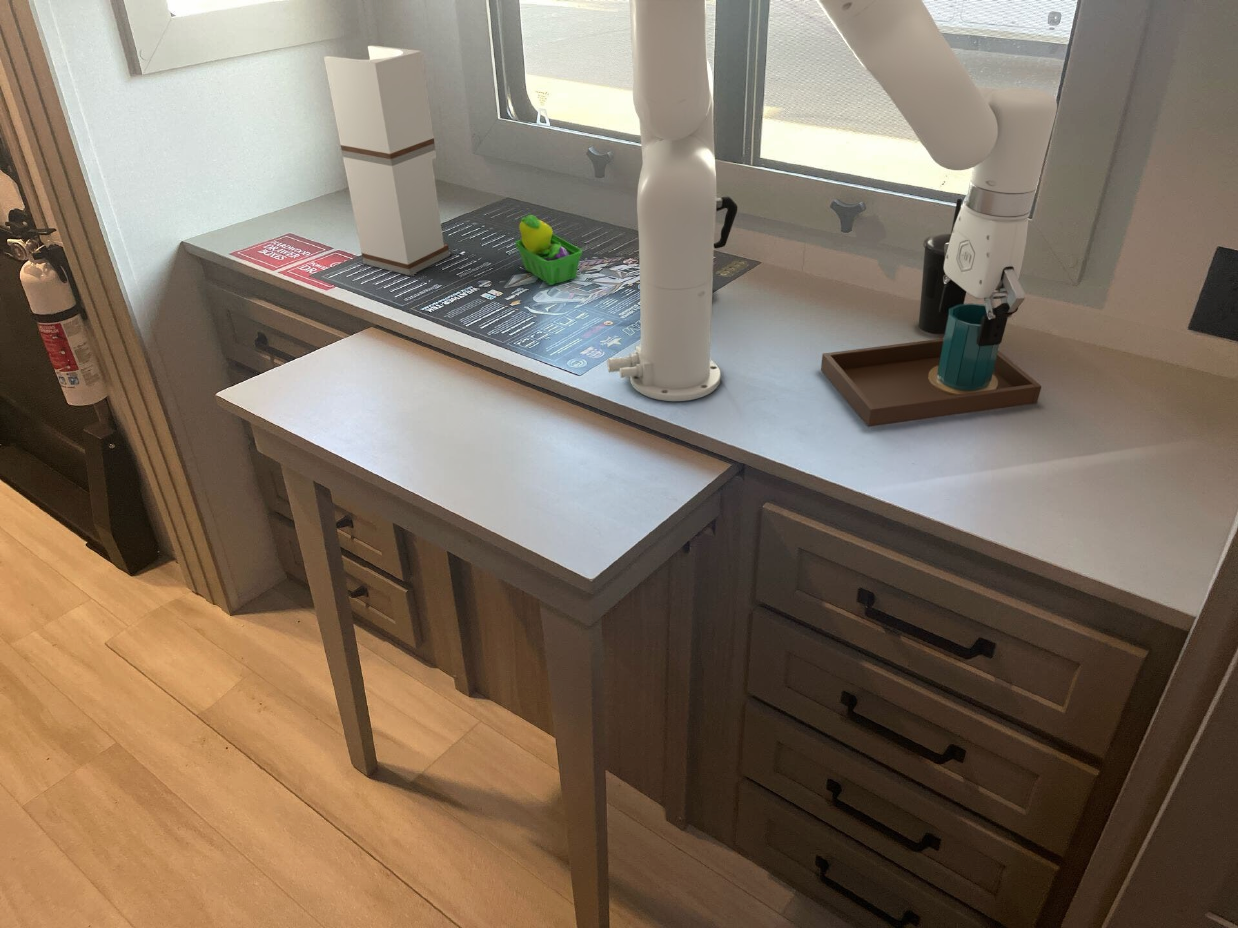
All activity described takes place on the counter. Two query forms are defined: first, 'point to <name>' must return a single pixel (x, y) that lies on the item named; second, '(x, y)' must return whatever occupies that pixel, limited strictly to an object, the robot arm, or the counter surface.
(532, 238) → the fruit basket
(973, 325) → the cup
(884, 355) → the tray
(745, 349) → the counter surface
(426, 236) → the striped cream pillar
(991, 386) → the coaster
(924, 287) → the drinking cup
